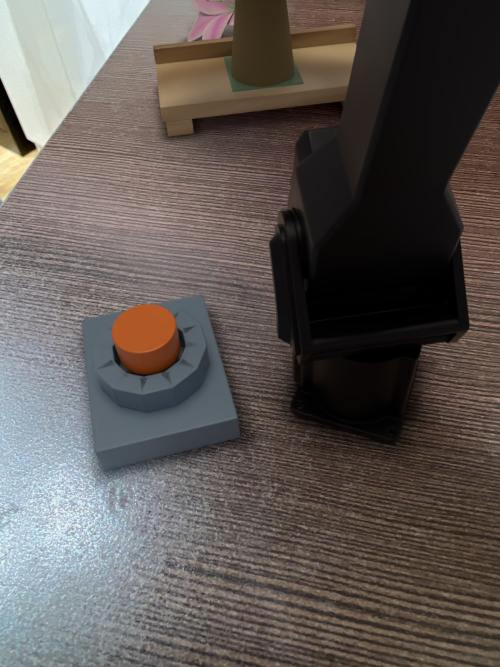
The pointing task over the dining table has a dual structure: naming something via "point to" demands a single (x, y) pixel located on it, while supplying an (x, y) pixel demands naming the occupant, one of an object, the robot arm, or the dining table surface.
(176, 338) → the bell button
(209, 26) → the lily
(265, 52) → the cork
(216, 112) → the shelf
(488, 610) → the dining table surface
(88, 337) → the control box
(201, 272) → the dining table surface
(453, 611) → the dining table surface
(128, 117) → the dining table surface
